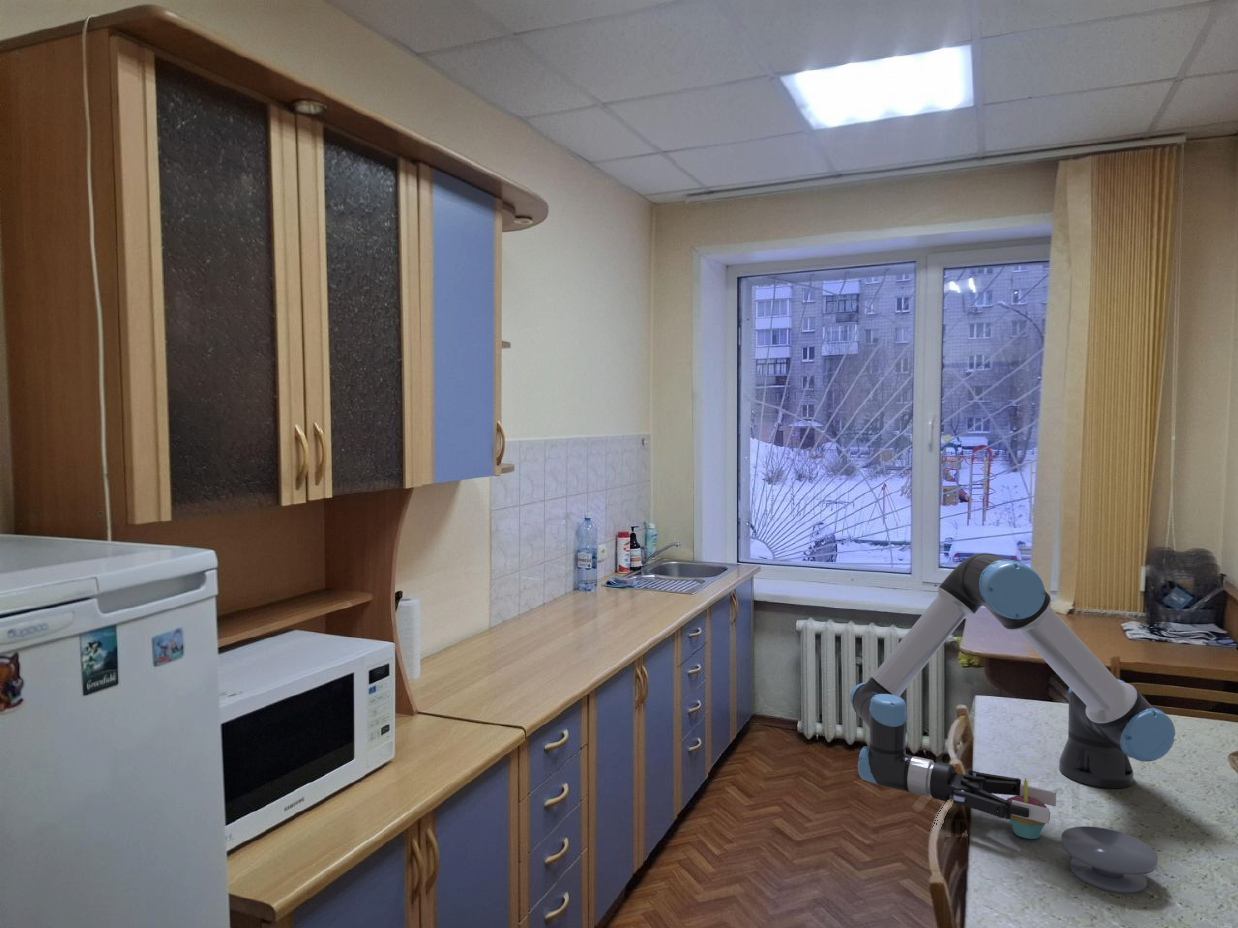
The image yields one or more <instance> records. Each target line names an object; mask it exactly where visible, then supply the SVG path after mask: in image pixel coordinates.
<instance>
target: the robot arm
mask: <svg viewBox="0 0 1238 928" xmlns="http://www.w3.org/2000/svg"><path fill="white" fill-rule="evenodd" d="M1051 604H1052V597H1051V595H1050V594H1049V593H1048V592H1047V591H1046V589H1045V585H1044V582H1043V580H1042V579H1041V577H1040V575H1039V574H1038V573H1037V572H1036V571H1035V570H1034V569H1032V568H1031V567H1029V566H1028V565H1026V564H1024V563H1023V562H1020V561H1018V560H1013V559H1007V558H1004V557H1003V556H999V555H997V554H995V553H994V554H993V553H989V552H983V553H982V552H980V553H976V554H973V555H970V556H969V557H967V558H966V559H964V560H963V561H961V562H960V563H959V564H958V565H957V566H956V567H955V568H954V569H953V570H952V571H951V572H950V573H949V574H948V576H946V577H945V579H944V580H943V581H942V583H941V584H940V585H939V586H938V587H937V596H936V597H935V599H934V600H933V601H932V602H930V604H929V606H928V607H927V609H925V610H924V612H923V613H922V615H921V616H919V618H918V619H917V621H916V622H915V623H914V625H913V626H912V627H911V628H910V629H909V630H908V631H907V633H906V634H905V635H904V636H903V637H902V639H901V640H900V642H898V644H897V645H896V646H895V647H894V648H893V650H892V651H891V652H890V654H889V655H888V656H887V657H886V658H885V660H884V661H883V662H882V663H881V664H880V665H879V667H878V668H877V669H876V671H874V673H873V675H872V676H870V678H869V679H868V680H867V682H860V683H859V684H857V685H854V687H853V688H852V689H851V690H850V695H849V702H850V704H851V707H852V708H853V710H854V712H855V713H856V715H857V716H858V717H860V718H861V720H862V721H863V722H864V723H865V725H866V726H867V727H868V728H869V745H865V746H863V747H862V748H861V750H860V752H859V755H858V761H857V771H858V774H859V777H860V778H861V779H862V780H864V781H865V782H869V783H872V784H875V785H878V786H881V787H887V788H891V789H896V790H901V791H903V792H907V793H912V794H915V795H916V796H917V797H922V796H924V797H927V798H928V797H930V796H931V797H932V798H933V799H934V800H939V801H943V802H946V801H947V800H949V799H951V798H952V797H953V798H952V799H953V804H954V805H957V806H964V807H966V808H967V807H968V808H970V809H974V810H976V811H980V812H982V813H986V814H989V815H991V816H994V817H998V818H1000V819H1005V820H1010V819H1011V814H1012V815H1014V816H1018V817H1022V818H1026V819H1030V820H1034V821H1038V822H1042V823H1046V824H1047V825H1049V824H1050V820H1049V811H1050V808H1048V807H1047V808H1044V807H1040V806H1036V805H1032V804H1027V803H1023V802H1019V801H1015V800H1012V804H1011V802H1009V801H1007V799H1005V798H1003V797H1001V796H998V795H1003V796H1004V795H1005V796H1007V795H1008V796H1018V795H1022V796H1023V795H1024V783H1022V780H1021V778H1018V777H1010V776H1004V775H997V774H990V773H984V772H979V771H976V770H972V769H968V770H967V774H961V773H960V774H959V773H957V772H956V768H955V766H954V765H953V764H950V763H945V762H941V761H936V762H934V760H933V759H928V758H925V757H924V758H923V757H920V756H916V755H915V756H913V755H909V754H906V748H907V747H906V743H907V742H906V740H907V720H908V713H907V706H906V705H907V704H906V702H905V700H904V699H903V698H902V697H901V696H902V694H903V693H904V692H905V691H906V689H907V688H908V687H909V686H910V684H911V683H912V682H913V681H914V680H915V678H916V677H918V675H919V673H921V671H922V670H923V669H924V668H925V666H926V665H927V664H928V663H929V662H930V660H931V659H932V658H933V657H934V655H936V653H937V652H938V651H939V650H940V648H941V647H942V646H943V645H944V644H945V643H946V641H947V640H948V639H949V638H950V636H951V635H952V634H953V633H954V632H955V630H956V629H957V628H959V627H958V626H959V625H960V624H961V623H962V622H963V620H964V619H966V617H968V616H974V615H975V614H976V612H977V611H978V610H979V609H980V608H982V607H984V608H986V609H987V610H988V612H990V613H991V615H993V617H995V619H996V620H997V621H998V622H999V623H1000V624H1001V625H1002V626H1003V627H1004V628H1005V629H1006V630H1007V631H1017V632H1018V633H1019V634H1020V635H1021V636H1022V638H1023V639H1024V640H1025V641H1026V642H1027V643H1028V644H1029V645H1030V646H1031V648H1033V649H1034V651H1036V652H1037V654H1038V655H1039V656H1040V657H1041V658H1042V659H1043V661H1045V662H1046V663H1047V664H1048V666H1049V667H1050V668H1051V669H1052V670H1053V671H1054V672H1055V674H1056V675H1058V677H1060V679H1061V680H1062V681H1063V682H1064V683H1065V684H1066V685H1067V686H1068V687H1069V688H1068V691H1067V692H1068V723H1067V724H1068V731H1067V732H1068V734H1067V740H1066V742H1065V745H1064V747H1063V750H1062V752H1061V753H1060V757H1059V761H1058V762H1059V763H1058V764H1059V765H1058V769H1059V772H1060V773H1061V774H1062V775H1064V776H1065V777H1067V778H1069V779H1071V780H1074V781H1076V782H1078V783H1081V784H1084V785H1088V786H1092V787H1097V788H1098V787H1099V788H1106V789H1124V788H1129V787H1131V786H1132V785H1133V783H1134V770H1133V767H1132V764H1131V760H1130V758H1131V759H1134V760H1136V761H1139V762H1154V761H1157V760H1159V759H1161V758H1164V756H1165V755H1167V754H1168V752H1170V750H1171V749H1172V747H1173V745H1174V743H1175V736H1176V727H1175V724H1174V723H1173V720H1172V719H1171V718H1170V717H1169V716H1168V715H1167V714H1166V713H1165V712H1164V711H1162V710H1161V709H1158V708H1155V707H1154V706H1153V705H1152V704H1150V703H1149V702H1148V700H1147V699H1146V698H1145V697H1144V696H1143V695H1142V694H1141V692H1139V690H1138V689H1136V688H1135V687H1134V685H1132V684H1131V683H1128V682H1125V681H1124V680H1121V679H1117V678H1116V677H1115V676H1114V674H1113V673H1112V672H1111V671H1110V670H1109V669H1108V668H1107V666H1106V665H1105V664H1103V663H1102V661H1101V660H1100V659H1099V658H1098V657H1097V656H1096V655H1095V654H1094V653H1093V651H1092V650H1091V649H1090V648H1089V647H1088V646H1087V645H1086V644H1085V643H1084V642H1083V641H1082V640H1081V638H1080V637H1079V636H1077V634H1076V633H1075V631H1073V630H1072V628H1070V627H1069V625H1067V624H1066V622H1065V621H1064V620H1063V619H1062V618H1061V617H1060V616H1059V615H1058V614H1057V612H1056V611H1055V610H1054V609H1053V608H1052V607H1051ZM1027 796H1030V797H1032V798H1035V799H1037V800H1038V801H1040V802H1041V803H1043V804H1045V805H1046V806H1051V807H1057V791H1054V790H1049V789H1046V788H1045V789H1044V788H1040V787H1035V786H1031V785H1027ZM1046 824H1045V825H1046Z"/></svg>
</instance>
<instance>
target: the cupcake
mask: <svg viewBox="0 0 1238 928" xmlns="http://www.w3.org/2000/svg"><path fill="white" fill-rule="evenodd" d="M1028 783H1029V782H1028V781H1027V777H1025V778H1024V781H1023V785H1024V795H1023V796H1022V795H1018V796H1017V795H1013V796H1012V797H1011V796H1010V797H1007V799H1006V800H1007V801H1009V802H1011V804H1012V800H1015V801H1019V802H1023V803H1027V804H1032V805H1036V806H1040V807H1044V808H1048V807H1047V805H1046V804H1043V803H1041V802H1040V801H1038V800H1037V799H1035V798H1032V797H1030V796H1027V785H1028ZM1028 786H1029V785H1028ZM1050 815H1051V812H1050V810H1049V821H1051V820H1050V819H1051V816H1050ZM1009 821H1010V824H1011V828H1012V831H1013V834H1015V835H1016V836H1019V838H1024V839H1028V840H1029V839H1030V840H1036V839H1038V838H1040V836H1041V834H1042V831H1043V829H1044V826H1046V823H1042V822H1038V821H1034V820H1030V819H1026V818H1022V817H1018V816H1014V815H1012V814H1011V819H1009Z"/></svg>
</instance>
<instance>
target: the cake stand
mask: <svg viewBox="0 0 1238 928" xmlns="http://www.w3.org/2000/svg"><path fill="white" fill-rule="evenodd" d="M1061 846H1062V848H1063V850H1064V851H1065V852H1066V853H1067V854H1068V855H1069V856H1071V857H1072V858H1071V859H1070V861H1069V863H1070V864H1069V869H1070V870H1071V871H1070V872H1072V874H1073V875H1074V876H1075V877H1076V878H1078V879H1079V880H1081V881H1082V882H1084V883H1086V884H1087V885H1089V886H1092V887H1094V888H1096V889H1100V890H1103V891H1106V892H1112V893H1115V894H1116V893H1117V894H1125V895H1126V894H1127V895H1128V894H1129V895H1131V894H1138V893H1141V892H1144V891H1145V890H1146V888H1147V886H1148V879H1147V877H1146V874H1150V873H1152V872H1154V871H1156V870H1157V868H1158V857H1159V856H1158V854H1157V852H1156V851H1155V850H1154V849H1153V848H1152V847H1151V846H1150V845H1149V844H1147V843H1146V842H1143V841H1142V840H1141V839H1139V838H1136V837H1134V836H1131V835H1129V834H1126V833H1123V832H1120V831H1118V830H1114V829H1109V828H1105V827H1097V826H1090V825H1088V826H1085V825H1083V826H1074V827H1069V828H1067V829H1066V830H1064V831H1063V832H1062V834H1061Z"/></svg>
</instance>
